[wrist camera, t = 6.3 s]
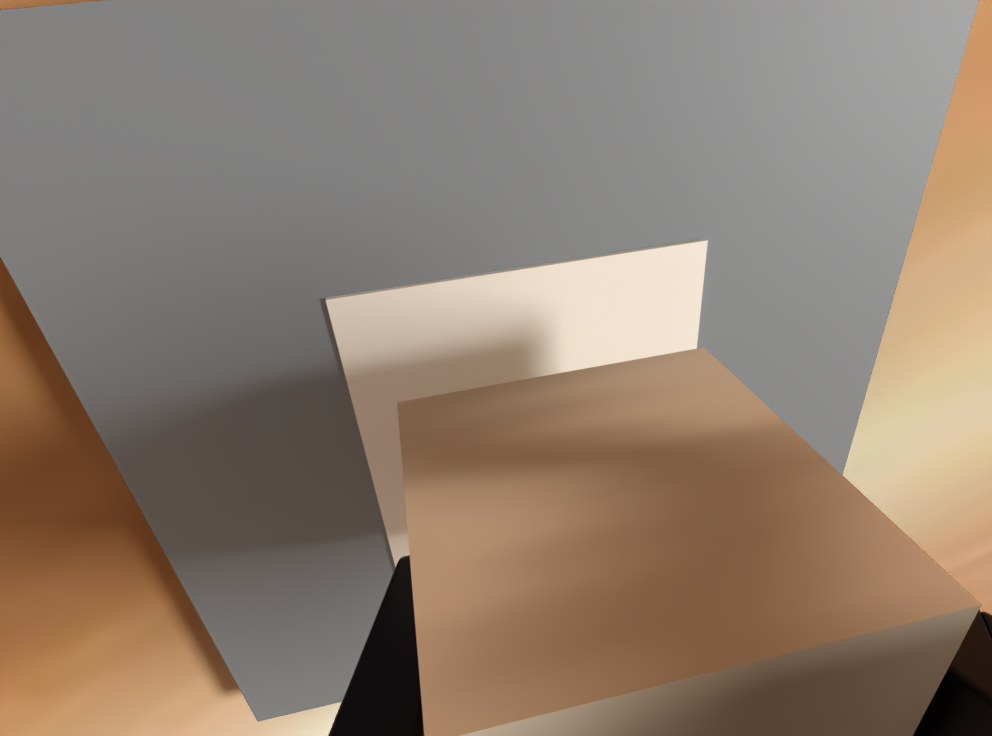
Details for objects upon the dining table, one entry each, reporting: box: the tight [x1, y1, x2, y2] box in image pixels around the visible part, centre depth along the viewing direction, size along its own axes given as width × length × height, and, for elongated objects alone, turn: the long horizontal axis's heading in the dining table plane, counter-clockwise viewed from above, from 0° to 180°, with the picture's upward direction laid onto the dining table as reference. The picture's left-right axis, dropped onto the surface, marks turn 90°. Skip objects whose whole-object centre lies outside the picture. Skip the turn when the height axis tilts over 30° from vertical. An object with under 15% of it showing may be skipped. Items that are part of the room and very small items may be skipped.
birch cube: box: [397, 347, 982, 736], centre depth 8 cm, size 5×5×5 cm
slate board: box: [0, 0, 979, 721], centre depth 13 cm, size 16×16×1 cm
